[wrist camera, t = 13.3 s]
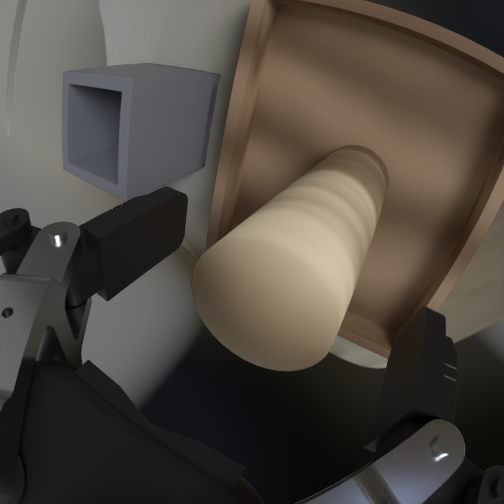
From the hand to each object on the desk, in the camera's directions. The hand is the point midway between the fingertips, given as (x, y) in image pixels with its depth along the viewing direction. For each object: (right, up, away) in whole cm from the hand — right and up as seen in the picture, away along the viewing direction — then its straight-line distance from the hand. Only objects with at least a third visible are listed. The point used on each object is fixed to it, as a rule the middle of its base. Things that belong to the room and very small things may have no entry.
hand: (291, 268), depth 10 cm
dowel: (+5, +5, +8) cm, 11 cm away
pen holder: (-7, +11, +13) cm, 19 cm away
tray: (+5, +5, +9) cm, 12 cm away
